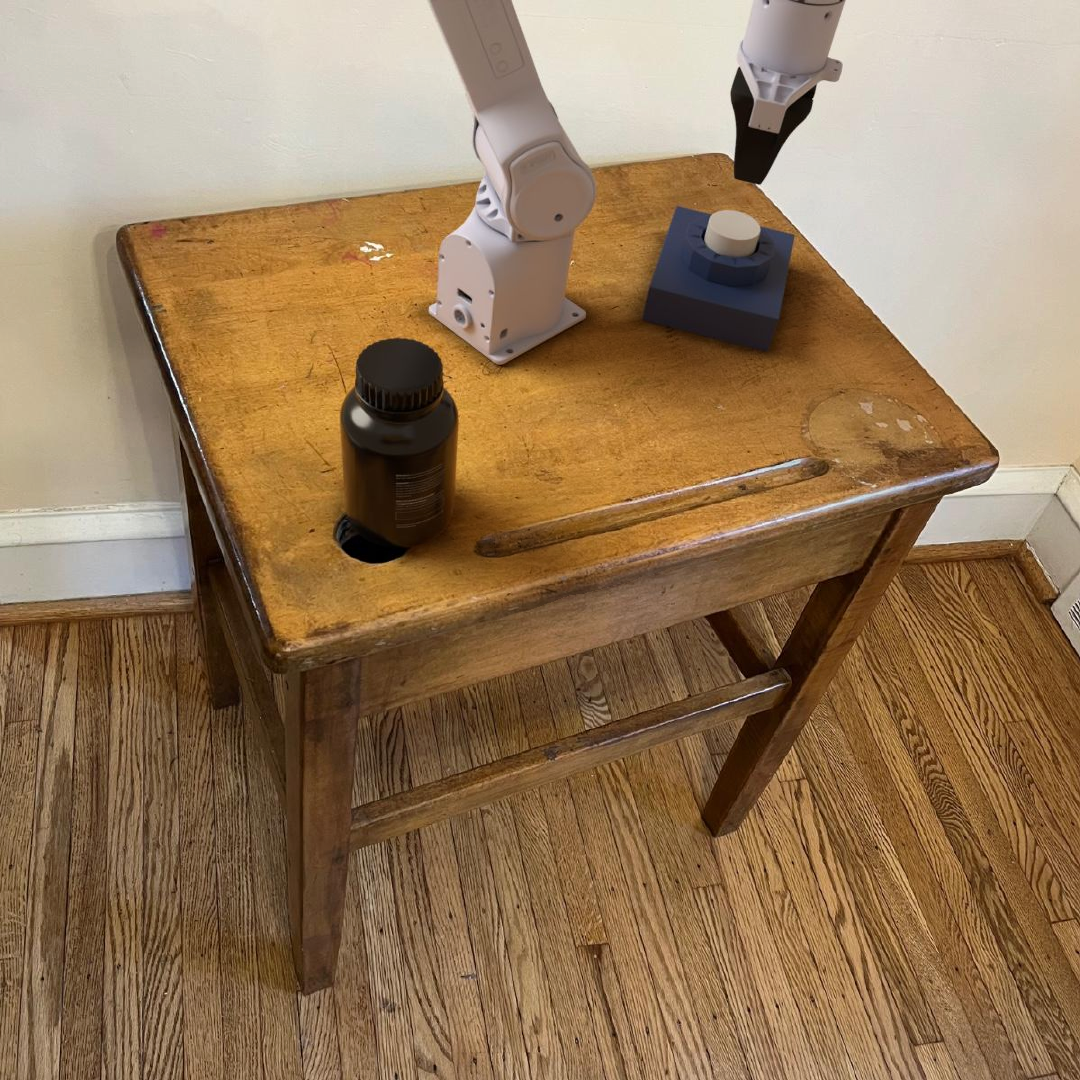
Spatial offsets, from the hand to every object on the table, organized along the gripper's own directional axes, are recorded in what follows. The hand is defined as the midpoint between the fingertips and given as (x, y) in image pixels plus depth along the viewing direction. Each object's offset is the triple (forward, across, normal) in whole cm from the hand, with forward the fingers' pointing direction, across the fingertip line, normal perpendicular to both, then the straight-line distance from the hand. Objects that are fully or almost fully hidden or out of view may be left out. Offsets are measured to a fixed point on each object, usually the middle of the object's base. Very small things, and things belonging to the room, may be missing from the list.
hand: (748, 177), depth 79 cm
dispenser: (+10, 0, 0) cm, 10 cm away
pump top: (+6, 0, 0) cm, 6 cm away
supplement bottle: (+11, -31, +16) cm, 37 cm away
